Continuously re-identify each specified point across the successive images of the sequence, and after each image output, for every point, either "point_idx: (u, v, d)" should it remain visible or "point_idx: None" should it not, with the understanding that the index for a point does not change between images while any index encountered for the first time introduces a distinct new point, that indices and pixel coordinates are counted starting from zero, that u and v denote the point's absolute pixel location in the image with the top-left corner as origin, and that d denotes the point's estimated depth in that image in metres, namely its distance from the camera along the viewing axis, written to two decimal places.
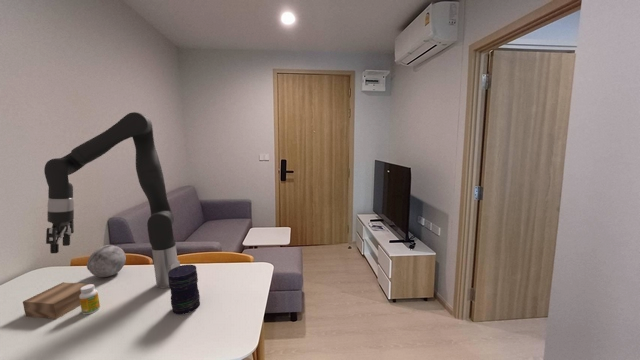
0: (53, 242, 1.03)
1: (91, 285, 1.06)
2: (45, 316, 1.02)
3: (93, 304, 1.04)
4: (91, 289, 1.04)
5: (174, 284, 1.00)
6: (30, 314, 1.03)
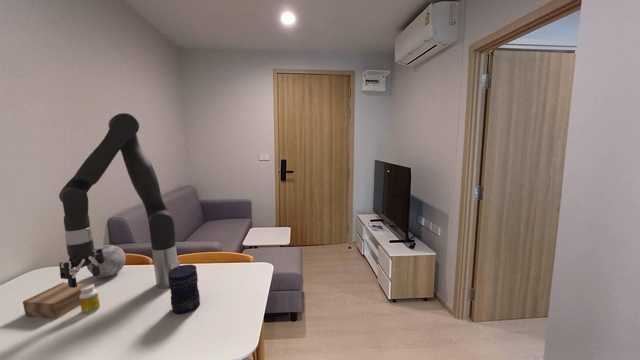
0: (65, 277, 0.97)
1: (91, 285, 1.06)
2: (45, 316, 1.02)
3: (93, 304, 1.04)
4: (91, 289, 1.04)
5: (174, 284, 1.00)
6: (30, 314, 1.03)
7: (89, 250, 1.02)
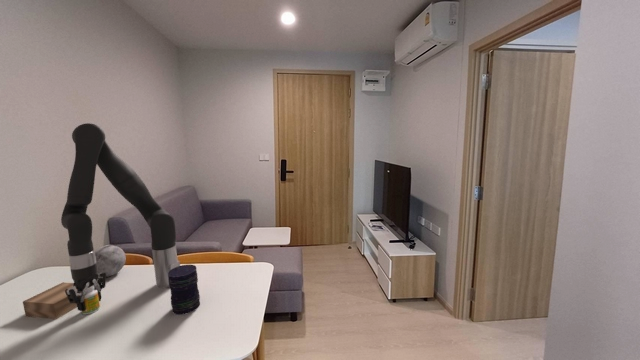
0: (74, 302, 0.99)
1: None
2: (45, 316, 1.02)
3: (93, 304, 1.04)
4: (91, 289, 1.04)
5: (174, 284, 1.00)
6: (30, 314, 1.03)
7: (93, 273, 1.03)
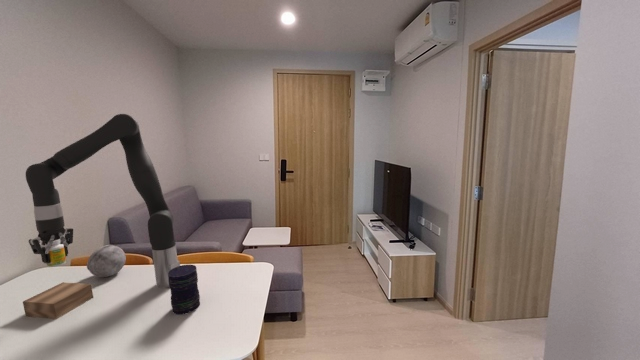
0: (38, 252, 0.99)
1: None
2: (45, 316, 1.02)
3: (58, 257, 1.04)
4: (57, 242, 1.04)
5: (174, 284, 1.00)
6: (30, 314, 1.03)
7: (59, 226, 1.03)
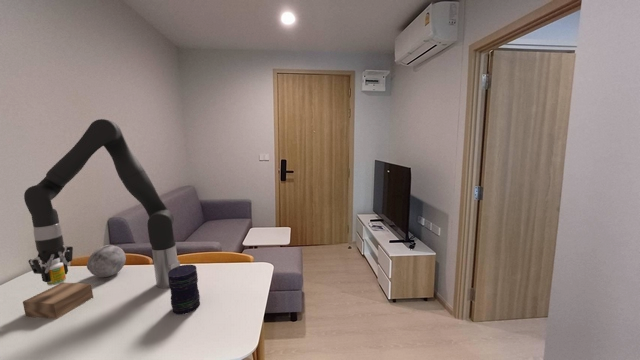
0: (38, 272, 1.01)
1: None
2: (45, 316, 1.02)
3: (58, 276, 1.06)
4: (57, 261, 1.06)
5: (174, 284, 1.00)
6: (30, 314, 1.03)
7: (58, 245, 1.05)
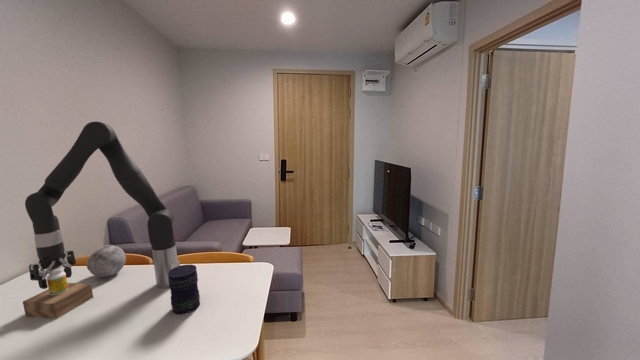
0: (35, 279, 1.00)
1: (59, 267, 1.08)
2: (45, 316, 1.02)
3: (60, 286, 1.07)
4: (59, 271, 1.07)
5: (174, 284, 1.00)
6: (30, 314, 1.03)
7: (59, 252, 1.06)
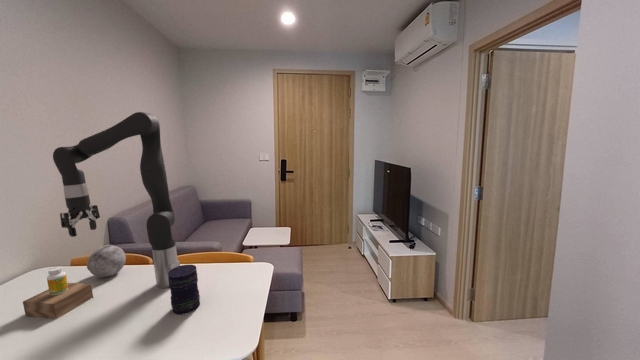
0: (66, 226, 1.09)
1: (59, 267, 1.08)
2: (45, 316, 1.02)
3: (60, 286, 1.07)
4: (59, 271, 1.07)
5: (174, 284, 1.00)
6: (30, 314, 1.03)
7: (86, 203, 1.14)
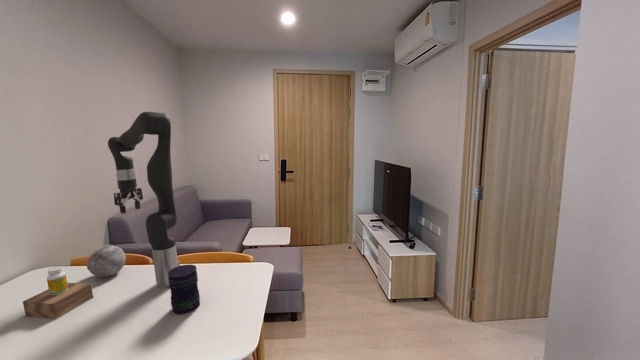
0: (118, 204, 1.29)
1: (59, 267, 1.08)
2: (45, 316, 1.02)
3: (60, 286, 1.07)
4: (59, 271, 1.07)
5: (174, 284, 1.00)
6: (30, 314, 1.03)
7: (134, 186, 1.34)
